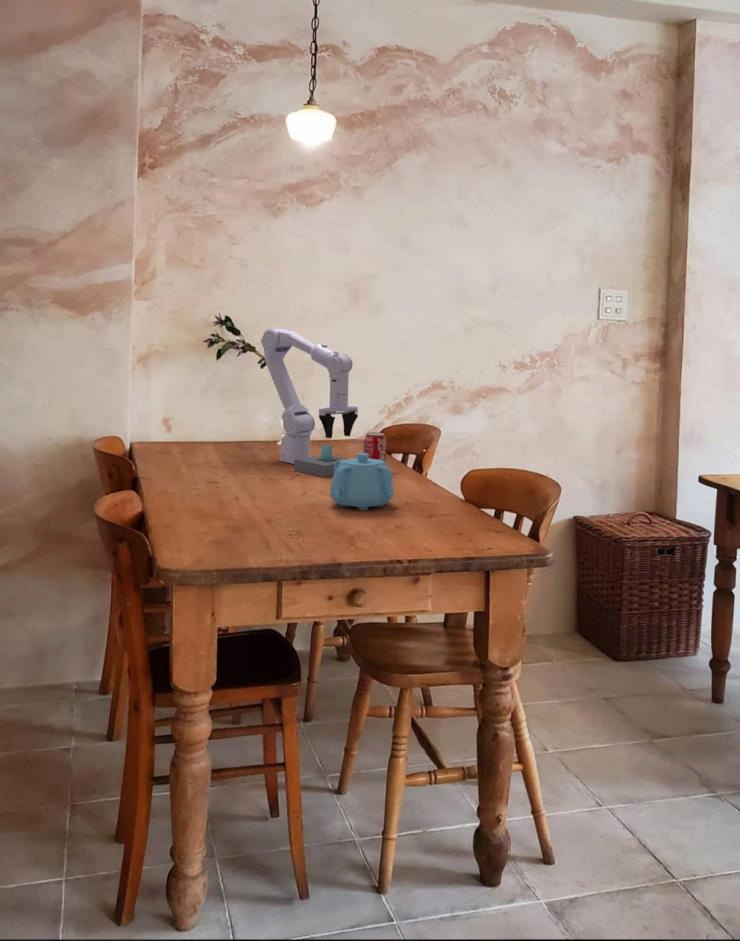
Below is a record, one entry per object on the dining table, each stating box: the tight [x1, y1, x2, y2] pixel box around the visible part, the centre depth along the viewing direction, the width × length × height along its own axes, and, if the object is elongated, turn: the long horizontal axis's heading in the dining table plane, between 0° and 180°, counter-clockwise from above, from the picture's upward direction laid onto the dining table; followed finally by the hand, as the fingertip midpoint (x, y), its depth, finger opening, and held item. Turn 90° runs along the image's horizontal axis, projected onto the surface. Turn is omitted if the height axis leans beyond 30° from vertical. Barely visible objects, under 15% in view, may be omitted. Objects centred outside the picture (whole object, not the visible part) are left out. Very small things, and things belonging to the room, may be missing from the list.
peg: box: [320, 444, 333, 462], centre depth 285 cm, size 3×3×8 cm
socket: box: [293, 455, 348, 478], centre depth 286 cm, size 14×14×4 cm
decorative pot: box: [329, 452, 394, 511], centre depth 238 cm, size 16×16×14 cm
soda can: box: [362, 431, 387, 463], centre depth 287 cm, size 7×7×12 cm
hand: (338, 436), depth 292 cm, fingers open, 7 cm apart
